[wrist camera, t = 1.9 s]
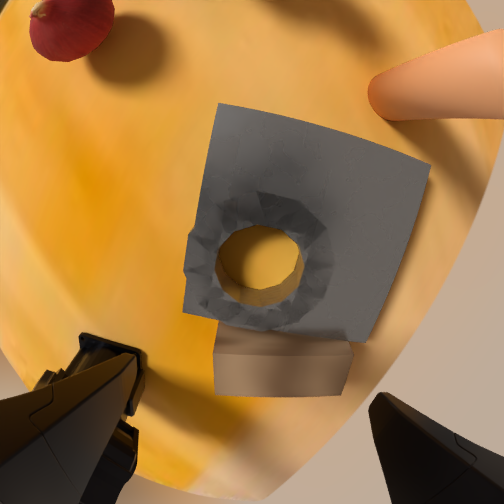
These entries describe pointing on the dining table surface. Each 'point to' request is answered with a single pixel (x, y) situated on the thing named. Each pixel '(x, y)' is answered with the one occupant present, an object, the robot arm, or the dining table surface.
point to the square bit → (278, 363)
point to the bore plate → (302, 223)
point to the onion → (69, 27)
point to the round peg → (445, 83)
